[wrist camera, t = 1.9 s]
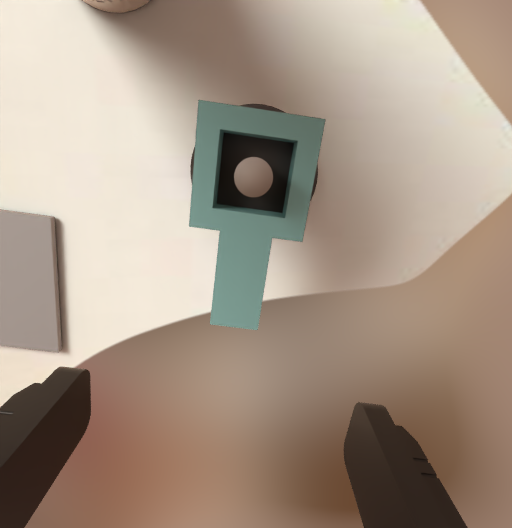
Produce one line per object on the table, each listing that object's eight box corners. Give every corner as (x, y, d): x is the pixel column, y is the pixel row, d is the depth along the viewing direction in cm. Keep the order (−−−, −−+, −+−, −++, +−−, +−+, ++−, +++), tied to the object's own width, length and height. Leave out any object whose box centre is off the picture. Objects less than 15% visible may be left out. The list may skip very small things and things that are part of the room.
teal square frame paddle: (204, 106, 18) (198, 99, 16) (318, 123, 18) (325, 119, 16) (188, 306, 22) (181, 320, 20) (282, 318, 22) (284, 333, 20)
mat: (-59, 201, 28) (-66, 202, 28) (54, 216, 29) (50, 217, 28) (-37, 337, 32) (-42, 340, 32) (61, 349, 33) (58, 352, 32)
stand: (208, 106, 26) (160, 50, 13) (315, 122, 26) (372, 84, 13) (198, 214, 29) (152, 256, 16) (296, 228, 29) (328, 280, 16)
